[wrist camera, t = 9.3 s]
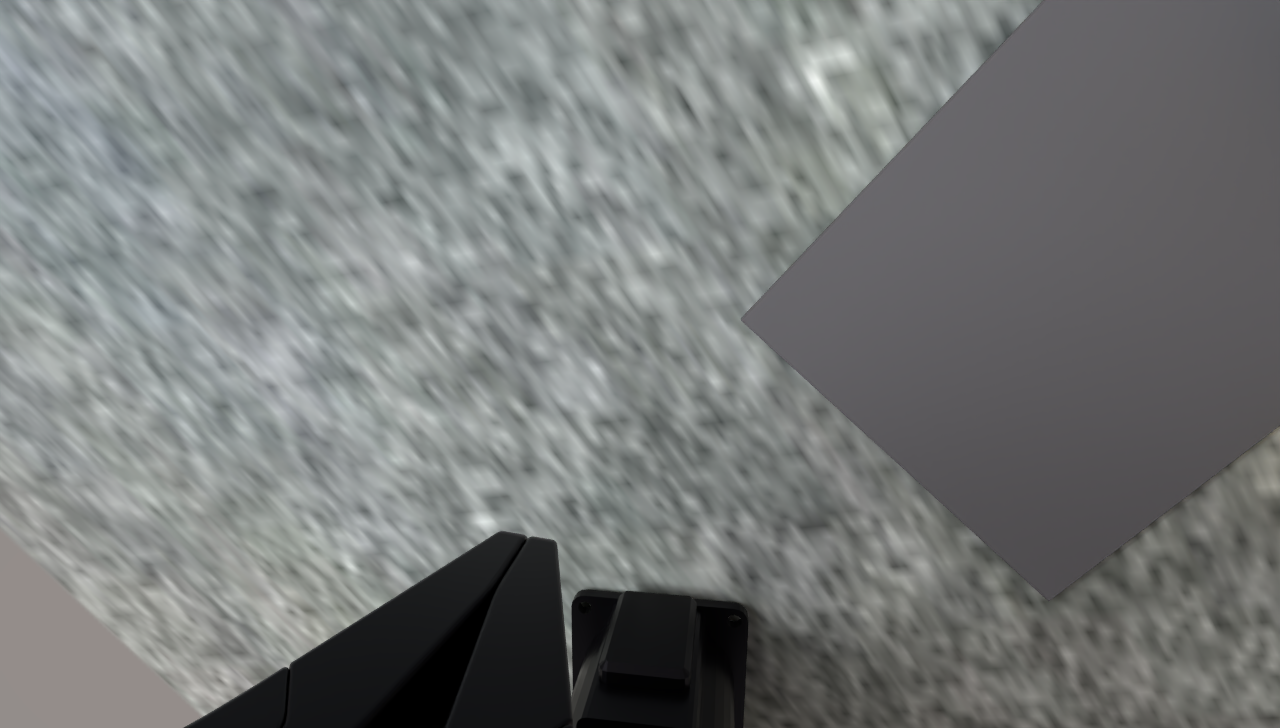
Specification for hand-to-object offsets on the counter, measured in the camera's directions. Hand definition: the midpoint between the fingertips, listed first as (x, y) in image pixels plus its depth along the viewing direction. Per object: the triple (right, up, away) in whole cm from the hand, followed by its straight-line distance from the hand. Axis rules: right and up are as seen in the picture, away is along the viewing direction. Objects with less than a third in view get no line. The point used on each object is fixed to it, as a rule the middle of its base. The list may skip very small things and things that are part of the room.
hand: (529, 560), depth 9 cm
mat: (+18, +8, +9) cm, 22 cm away
